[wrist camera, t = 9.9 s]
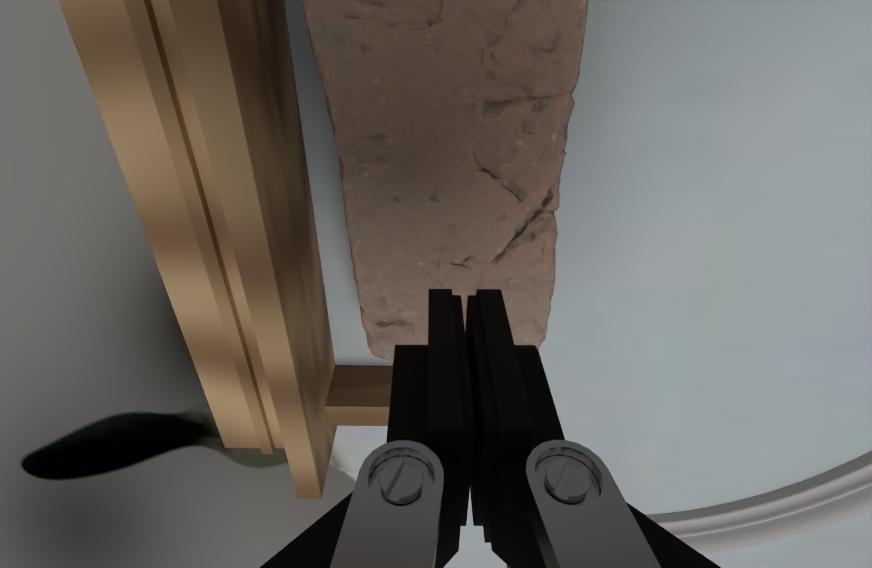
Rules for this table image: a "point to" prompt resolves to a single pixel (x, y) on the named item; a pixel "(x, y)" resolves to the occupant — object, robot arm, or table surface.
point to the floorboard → (229, 214)
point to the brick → (449, 150)
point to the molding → (776, 510)
